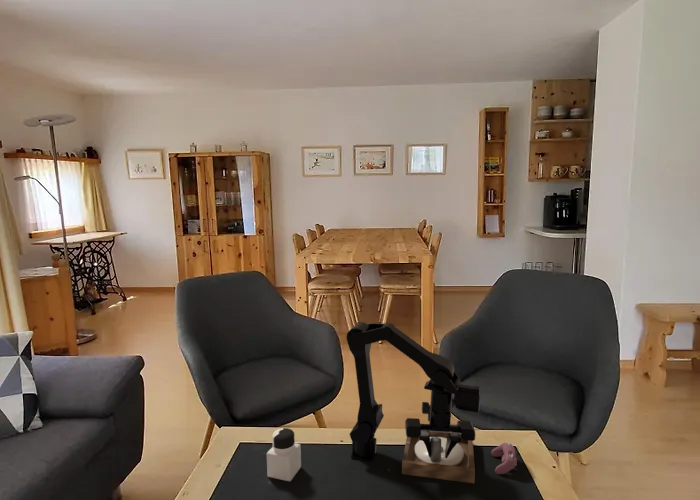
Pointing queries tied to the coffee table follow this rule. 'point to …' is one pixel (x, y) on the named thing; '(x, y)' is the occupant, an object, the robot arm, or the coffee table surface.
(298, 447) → the medicine bottle
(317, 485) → the coffee table surface
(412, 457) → the dial frame
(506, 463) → the video game controller
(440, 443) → the dial
